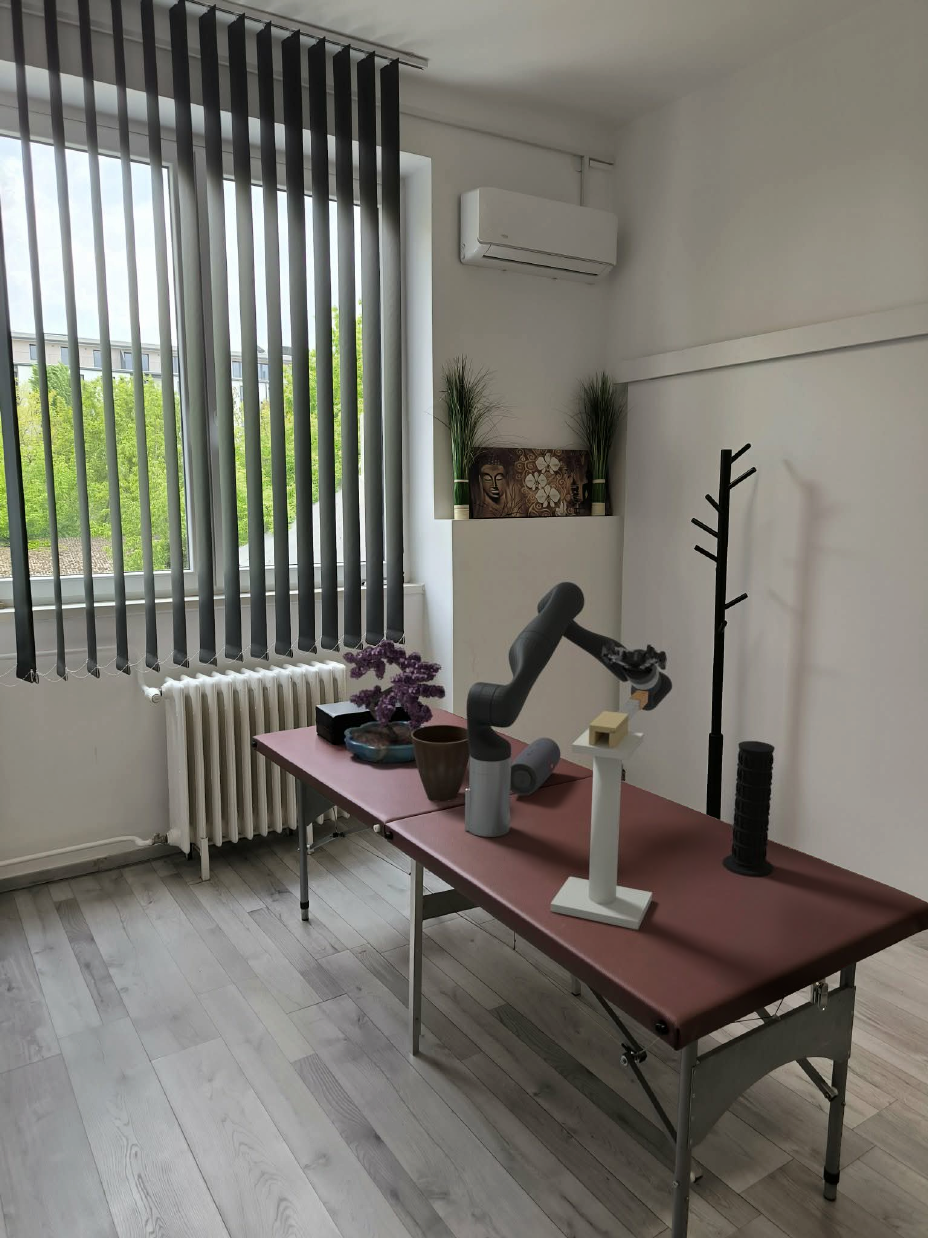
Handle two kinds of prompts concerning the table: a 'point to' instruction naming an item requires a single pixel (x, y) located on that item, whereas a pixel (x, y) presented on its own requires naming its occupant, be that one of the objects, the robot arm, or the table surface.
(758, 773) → the handle grip
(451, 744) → the plant pot
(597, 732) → the stand
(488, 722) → the robot arm
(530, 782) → the bluetooth speaker
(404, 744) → the bonsai tree
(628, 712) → the grey orange square rod
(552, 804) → the table surface
